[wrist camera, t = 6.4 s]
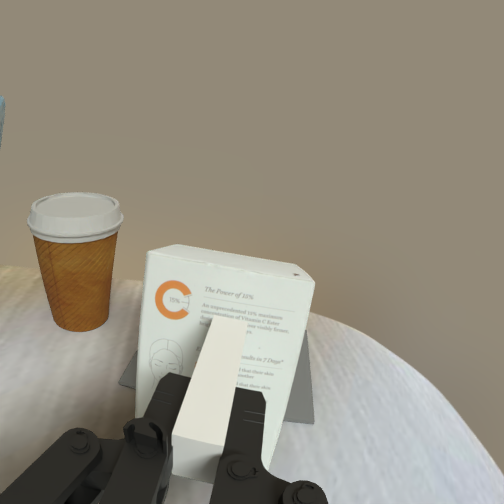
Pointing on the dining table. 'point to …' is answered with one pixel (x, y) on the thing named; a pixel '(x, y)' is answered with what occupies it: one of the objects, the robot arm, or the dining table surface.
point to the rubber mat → (299, 396)
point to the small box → (230, 306)
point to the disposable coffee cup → (76, 255)
